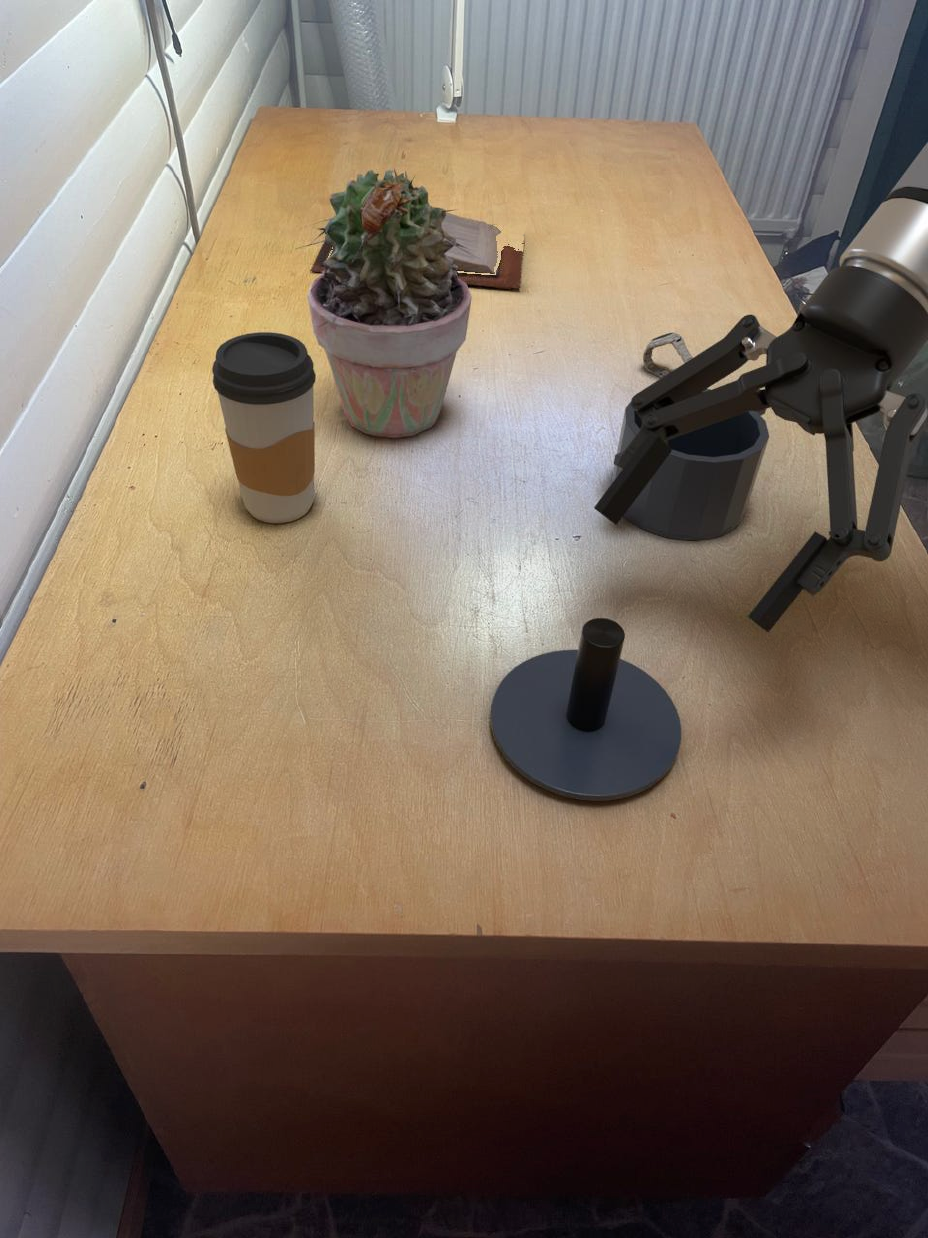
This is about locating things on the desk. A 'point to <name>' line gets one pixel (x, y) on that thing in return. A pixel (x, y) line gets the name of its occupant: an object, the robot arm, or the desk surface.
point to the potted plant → (389, 305)
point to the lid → (586, 720)
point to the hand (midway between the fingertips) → (676, 568)
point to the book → (485, 250)
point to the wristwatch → (660, 341)
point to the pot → (699, 477)
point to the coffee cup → (269, 422)
